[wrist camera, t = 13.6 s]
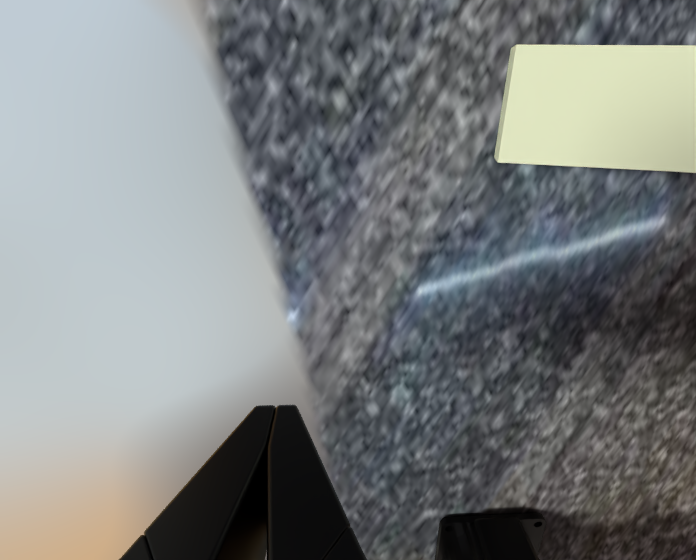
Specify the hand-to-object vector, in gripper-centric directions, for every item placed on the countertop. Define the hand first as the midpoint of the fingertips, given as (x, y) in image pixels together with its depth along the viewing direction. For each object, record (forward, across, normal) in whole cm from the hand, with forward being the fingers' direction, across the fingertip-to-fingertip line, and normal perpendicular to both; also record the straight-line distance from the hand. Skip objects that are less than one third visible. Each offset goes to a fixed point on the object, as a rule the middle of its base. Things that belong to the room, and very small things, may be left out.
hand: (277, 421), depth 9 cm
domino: (+10, -8, -6) cm, 14 cm away
